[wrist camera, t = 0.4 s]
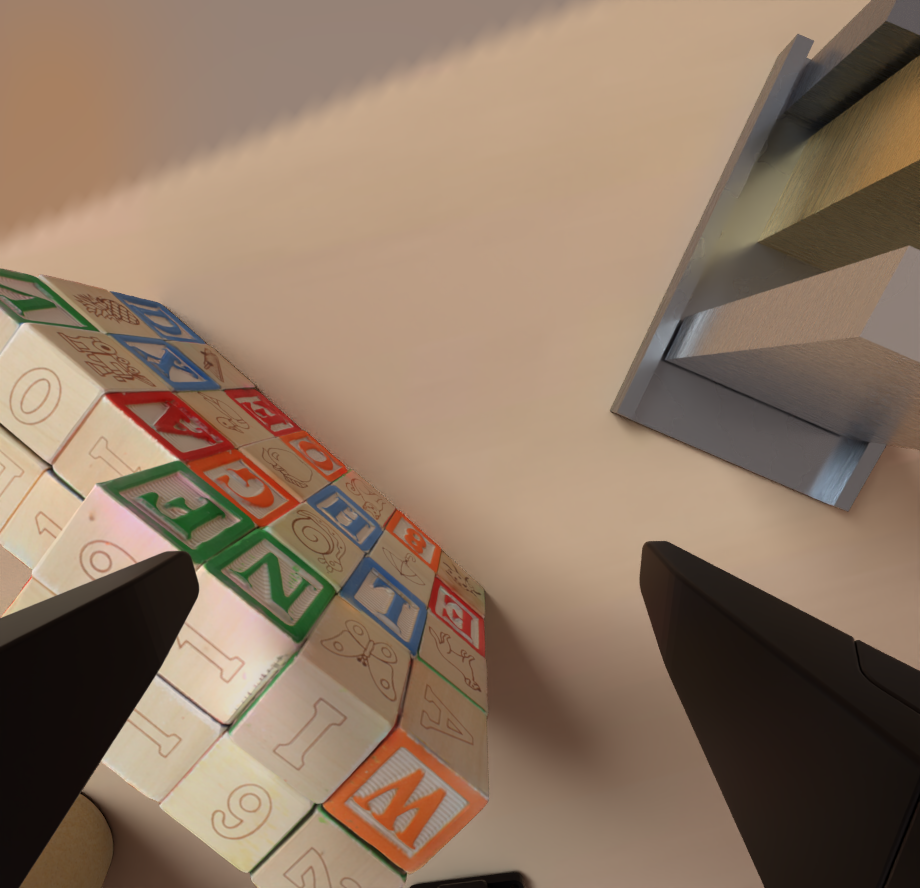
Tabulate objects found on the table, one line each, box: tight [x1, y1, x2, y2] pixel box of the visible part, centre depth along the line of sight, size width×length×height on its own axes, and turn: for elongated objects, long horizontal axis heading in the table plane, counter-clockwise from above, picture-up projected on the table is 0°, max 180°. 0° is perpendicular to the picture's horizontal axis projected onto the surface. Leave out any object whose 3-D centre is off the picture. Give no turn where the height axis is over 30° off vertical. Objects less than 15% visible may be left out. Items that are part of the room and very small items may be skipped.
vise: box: [610, 0, 920, 511], centre depth 18 cm, size 16×11×5 cm
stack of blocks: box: [0, 268, 489, 888], centre depth 17 cm, size 21×6×12 cm, turn 48°
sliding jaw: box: [665, 246, 920, 450], centre depth 15 cm, size 2×9×11 cm, turn 67°
